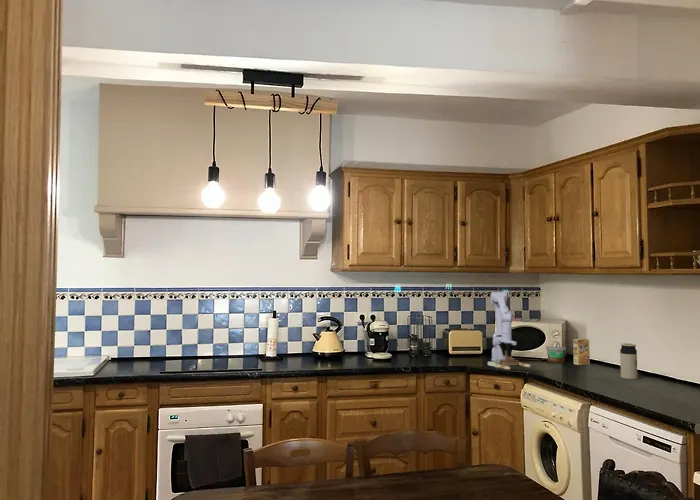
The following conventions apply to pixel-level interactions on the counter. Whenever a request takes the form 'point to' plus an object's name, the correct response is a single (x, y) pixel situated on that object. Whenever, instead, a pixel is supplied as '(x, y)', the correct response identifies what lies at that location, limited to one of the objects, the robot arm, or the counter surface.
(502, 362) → the l-shaped wooden block
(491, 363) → the tray
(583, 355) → the candy box
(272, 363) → the counter surface
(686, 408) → the counter surface
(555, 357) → the food container
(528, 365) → the slot rails
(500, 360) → the light grey cube
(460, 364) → the counter surface
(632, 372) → the travel mug
